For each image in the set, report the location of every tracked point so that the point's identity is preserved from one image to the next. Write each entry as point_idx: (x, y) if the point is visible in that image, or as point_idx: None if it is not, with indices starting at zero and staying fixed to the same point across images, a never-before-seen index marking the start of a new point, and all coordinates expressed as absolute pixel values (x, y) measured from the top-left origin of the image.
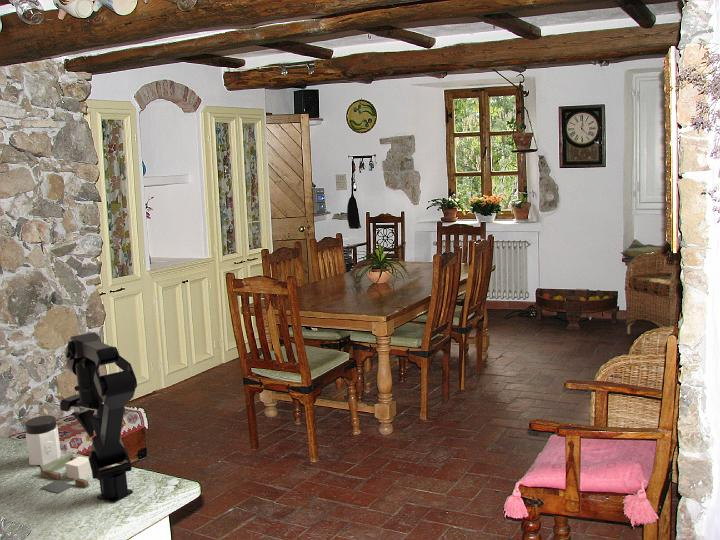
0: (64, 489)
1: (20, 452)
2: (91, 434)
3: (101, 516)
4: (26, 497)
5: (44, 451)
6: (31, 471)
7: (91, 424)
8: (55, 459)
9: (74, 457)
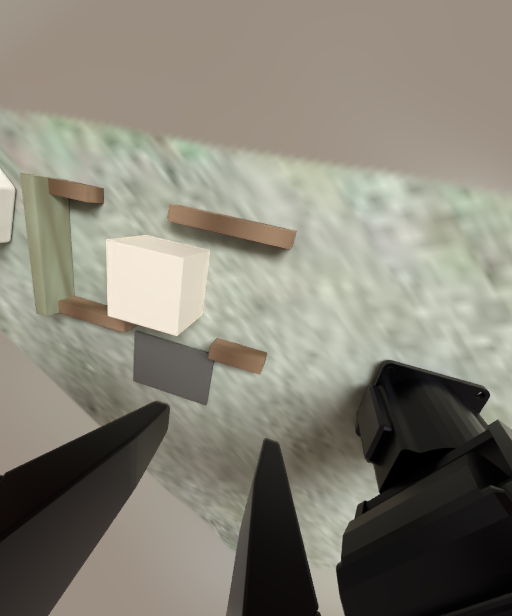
0: (208, 385)
1: None
2: (158, 438)
3: None
4: None
5: None
6: (17, 282)
7: (64, 520)
8: (5, 199)
9: (56, 181)
